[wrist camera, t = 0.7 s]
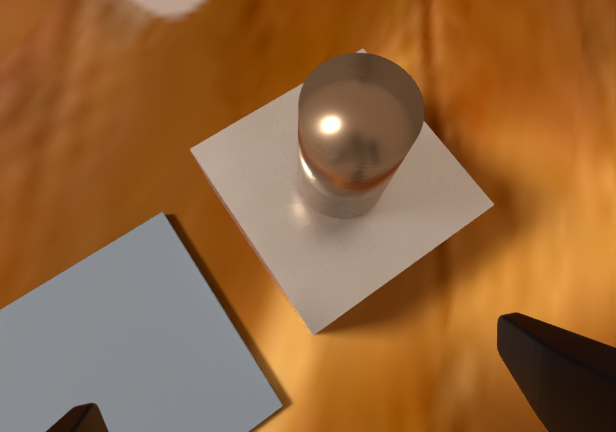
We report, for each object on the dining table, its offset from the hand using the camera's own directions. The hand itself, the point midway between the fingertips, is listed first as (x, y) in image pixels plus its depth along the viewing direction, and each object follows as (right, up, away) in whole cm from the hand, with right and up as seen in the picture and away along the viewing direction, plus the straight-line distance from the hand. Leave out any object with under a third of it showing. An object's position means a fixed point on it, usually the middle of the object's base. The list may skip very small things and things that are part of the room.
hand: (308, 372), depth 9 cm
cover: (+1, +4, +14) cm, 15 cm away
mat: (-10, -4, +12) cm, 16 cm away
